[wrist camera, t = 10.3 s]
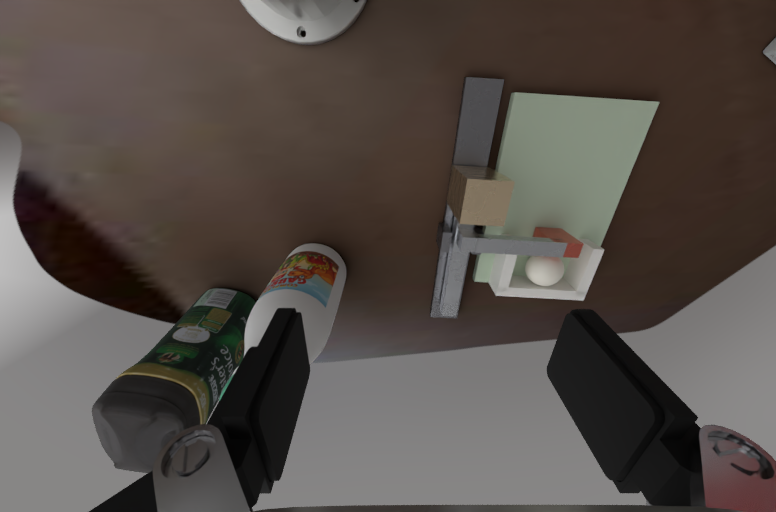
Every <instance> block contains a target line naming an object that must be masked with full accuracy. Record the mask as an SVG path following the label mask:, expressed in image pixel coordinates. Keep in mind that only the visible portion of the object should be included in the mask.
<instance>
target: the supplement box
mask: <svg viewBox="0 0 776 512" xmlns="http://www.w3.org/2000/svg"><path fill="white" fill-rule="evenodd" d="M763 53H764V54H765V55H766V56H767V57H768V58H769V59H770V60H771V61H773V62H774V63H775V64H776V38H775V39H773V41H772V42H771V43H770V44H769V45H768V46H767V47H766V48H765V49H764V50H763Z"/></svg>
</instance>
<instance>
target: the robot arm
mask: <svg viewBox="0 0 776 512" xmlns="http://www.w3.org/2000/svg"><path fill="white" fill-rule="evenodd" d="M366 1H367V0H359V1H358V2H357V3H356V2H354V0H240V2H241V3H242V5H243V6H244V7H245V9H246V10H247V12H248V13H249V14H250V15H251V16H252V17H253V18H254V19H255V20H256V21H257V22H258V23H259V24H260V25H261V26H263V27H264V28H265V29H267V30H268V31H269V32H271V33H272V34H274V35H276V36H277V37H279V38H281V39H283V40H286V41H289V42H292V43H294V44H301V45H316V44H322V43H325V42H328V41H331V40H333V39H335V38H336V37H338V36H339V35H341V34H343V33H344V32H345V31H346V30H347V29H348V28H349V27H350V26H351V25H352V24H353V23H354V22H355V21H356V19H357V18H358V16H359V15H360V13H361V12H362V10H363V8H364V6H365V4H366ZM303 31H305V32H306V36H305V37H302V35H301V34H302V32H303ZM309 374H310V364H309V358H308V352H307V345H306V339H305V333H304V326H303V320H302V314H301V312H296V309H295V308H278V309H277V310H276V312H275V314H274V316H273V317H272V319H271V321H270V323H269V325H268V327H267V329H266V331H265V333H264V335H263V337H262V339H261V341H260V342H259V344H258V346H257V347H251V348H249V349H248V351H247V352H246V354H245V356H244V358H243V359H242V361H241V363H240V365H239V367H238V369H237V370H236V372H235V374H234V376H233V378H232V379H231V381H230V383H229V385H228V387H227V389H226V390H225V392H224V394H223V396H222V398H221V399H220V401H219V403H218V405H217V407H216V408H215V411H214V412H213V414H212V416H211V418H210V420H209V421H208V423H207V424H201V425H196V426H192V427H190V428H188V429H185V430H183V431H182V432H180V433H179V434H177V435H176V436H174V437H173V438H172V439H171V440H170V441H169V442H168V443H167V444H166V445H164V447H163V448H162V450H161V451H160V452H159V454H158V455H157V457H156V460H155V462H154V465H153V470H152V471H151V472H149V473H148V474H146V475H145V476H143V477H142V478H140V479H139V480H137V481H136V482H134V483H132V484H131V485H129V486H128V487H126V488H125V489H123V490H122V491H120V492H119V493H117V494H116V495H114V496H113V497H111V498H109V499H108V500H106V501H105V502H103V503H102V504H100V505H99V506H97V507H95V508H94V509H92V510H91V511H89V512H253V509H252V507H253V506H254V505H255V504H256V503H257V500H258V497H259V494H260V493H271V490H272V487H273V483H274V481H277V480H278V481H279V479H280V478H281V475H282V472H283V469H284V465H285V461H286V458H287V454H288V450H289V447H290V444H291V440H292V436H293V433H294V429H295V426H296V421H297V418H298V415H299V411H300V407H301V404H302V400H303V397H304V393H305V389H306V386H307V382H308V379H309ZM547 374H548V377H549V379H550V381H551V382H552V384H553V386H554V388H555V389H556V391H557V393H558V395H559V396H560V398H561V400H562V401H563V403H564V405H565V407H566V408H567V410H568V412H569V414H570V415H571V417H572V419H573V420H574V422H575V424H576V426H577V427H578V429H579V431H580V432H581V434H582V436H583V438H584V439H585V441H586V443H587V444H588V446H589V448H590V450H591V451H592V453H593V455H594V456H595V458H596V460H597V462H598V463H599V465H600V467H601V468H602V470H603V472H604V474H605V475H606V476H607V477H608V478H609V479H610V480H613V482H614V484H615V485H616V487H617V489H618V490H619V492H620V493H639V492H640V491H641V492H642V493H643V495H644V496H645V498H646V499H647V501H646V506H645V505H382V506H381V505H379V506H378V505H377V506H375V505H372V506H321V507H290V508H278V509H267V510H259V511H254V512H776V461H775V460H774V459H773V458H772V456H771V455H769V454H768V453H767V452H766V451H765V450H764V449H763V448H761V447H760V446H759V445H757V444H756V443H754V442H753V441H752V440H750V439H749V438H747V437H745V436H743V435H741V434H739V433H737V432H736V431H733V430H731V429H728V428H725V427H722V426H717V425H705V426H703V427H702V428H700V427H699V426H698V425H697V424H696V423H695V421H696V420H697V418H698V417H697V416H696V415H695V414H694V413H693V412H692V411H691V409H690V408H688V406H687V405H686V404H685V403H684V402H683V401H682V400H681V399H680V398H679V397H678V396H677V395H676V394H675V393H674V392H673V391H672V390H671V389H670V388H669V387H668V386H667V385H666V384H665V383H664V382H663V381H662V380H661V379H660V378H659V377H658V376H657V375H656V374H655V373H654V372H653V371H652V370H651V369H650V368H649V367H648V366H647V365H646V364H645V363H644V361H643V360H642V359H641V358H640V357H639V356H638V355H637V354H636V353H634V351H633V350H632V349H631V348H630V347H629V346H628V345H627V344H626V343H625V342H624V341H623V340H622V339H621V338H620V337H619V336H618V335H617V334H616V333H615V332H614V331H613V330H612V329H611V328H610V327H609V326H608V325H607V324H606V323H605V322H604V321H603V320H602V318H601V317H600V316H599V315H598V314H597V313H596V312H594V311H593V310H590V309H575V310H572V311H571V312H570V314H567V315H566V317H565V319H564V322H563V325H562V328H561V330H560V333H559V336H558V339H557V341H556V344H555V347H554V350H553V352H552V355H551V358H550V361H549V363H548V366H547Z"/></svg>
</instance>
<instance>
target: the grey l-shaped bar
mask: <svg viewBox="0 0 776 512" xmlns="http://www.w3.org/2000/svg"><path fill="white" fill-rule="evenodd" d="M514 183H515V182H514V181H513V180H511V179H509V178H508V177H506V176H504V175H502V174H501V173H499V172H497V171H495V170H494V169H492V168H490V167H476V166H460V165H452V169H451V176H450V183H449V189H448V196H447V204H448V206H449V207H450V209H451V211H452V212H453V214H454V222H453V228H452V238H451V244H450V250H449V253H448V259H447V265H446V271H445V277H444V284H443V290H442V296H441V302H440V311H441V315H442V316H454V317H456V314H457V309H458V304H459V298H460V293H461V288H462V283H463V278H464V273H465V268H466V263H467V258H468V253H469V252H475V253H492V254H510V255H527V256H544V257H562V258H563V257H569V258H579V255H580V253H581V250H582V247H583V245H584V244H583V243H582V242H580V241H579V240H577V239H576V238H575V237H573V236H572V235H570V234H569V233H567V232H566V231H565V230H563V229H562V228H546V227H535V230H534V234H533V237H524V236H507V235H490V234H476V233H475V232H474V230H473V227H474V225H486V226H503V227H504V224H505V220H506V216H507V212H508V208H509V204H510V200H511V195H512V191H513V187H514Z"/></svg>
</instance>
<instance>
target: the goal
mask: <svg viewBox="0 0 776 512" xmlns="http://www.w3.org/2000/svg"><path fill="white" fill-rule="evenodd" d="M500 235H507V236H511V235H510V234H500ZM578 240H579V241H580V242H582V243H583V244H584V245H583V247H582V250H581V253H580V255H579V258H571V259H570V262H569V264H568V267H567V270H566V273H565V275H564V278H561V279H560V280H559V281H558V282H557V283H555V284H553V285H550V286H540V285H537V284H535V283H533V282H532V281H531V280H530V279H529V278H528V277H527V276H514V275H512V273H513V269H514V266H515V262H516V259H517V255H510V254H495V257H494V261H493V265H492V270H491V274H490V278H489V282H488V283H489V284H490V286H491V288H492V290H493V291H494V293H495V295H496V296H511V297H529V298H547V299H565V300H584V298H585V296H586V293H587V291H588V288H589V286H590V284H591V281H592V279H593V276H594V274H595V272H596V269H597V267H598V264H599V262H600V260H601V257H602V255H603V252H604V249H603V248H601V247H600V246H598V245H597V244H595V243H594V242H592V241H590V240H589V239H579V238H578Z"/></svg>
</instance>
